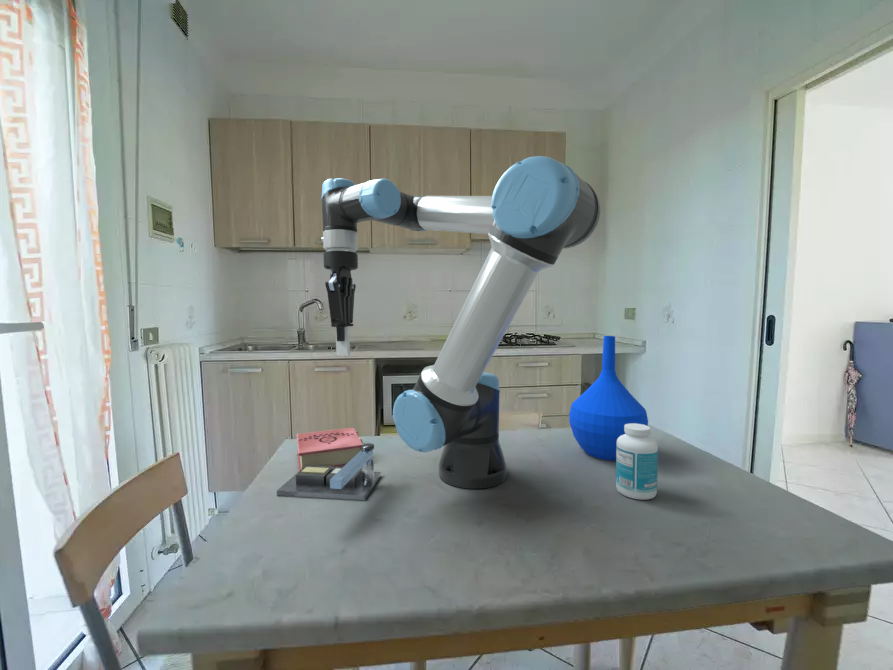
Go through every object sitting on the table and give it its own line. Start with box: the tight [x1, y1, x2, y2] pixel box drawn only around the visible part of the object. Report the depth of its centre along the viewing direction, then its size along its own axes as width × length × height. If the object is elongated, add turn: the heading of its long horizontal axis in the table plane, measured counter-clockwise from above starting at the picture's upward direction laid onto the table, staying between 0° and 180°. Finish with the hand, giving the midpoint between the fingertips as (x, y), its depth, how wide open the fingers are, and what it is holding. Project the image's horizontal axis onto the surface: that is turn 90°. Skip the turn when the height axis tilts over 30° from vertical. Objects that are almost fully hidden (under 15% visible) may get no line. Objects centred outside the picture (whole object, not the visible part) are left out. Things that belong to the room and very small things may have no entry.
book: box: [296, 427, 364, 472], centre depth 98 cm, size 14×15×5 cm
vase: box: [568, 335, 649, 462], centre depth 99 cm, size 18×18×30 cm
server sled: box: [276, 455, 382, 501], centre depth 83 cm, size 18×11×6 cm, turn 83°
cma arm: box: [330, 443, 375, 489], centre depth 75 cm, size 16×3×2 cm, turn 170°
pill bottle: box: [615, 423, 659, 501], centre depth 79 cm, size 8×7×14 cm
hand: (343, 354), depth 91 cm, fingers closed
